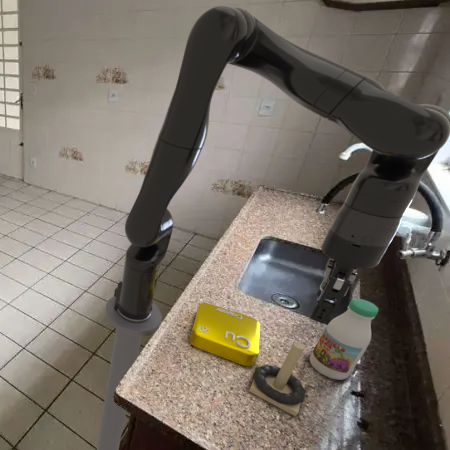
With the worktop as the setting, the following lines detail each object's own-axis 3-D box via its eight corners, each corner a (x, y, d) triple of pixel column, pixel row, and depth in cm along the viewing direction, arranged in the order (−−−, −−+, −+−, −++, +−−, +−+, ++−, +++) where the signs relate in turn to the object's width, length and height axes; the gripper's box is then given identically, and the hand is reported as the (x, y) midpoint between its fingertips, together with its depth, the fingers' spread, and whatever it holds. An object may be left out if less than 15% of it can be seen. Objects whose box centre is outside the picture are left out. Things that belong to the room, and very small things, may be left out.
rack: (248, 391, 80) (269, 346, 73) (258, 367, 86) (278, 323, 79) (295, 416, 75) (323, 370, 68) (302, 389, 80) (328, 344, 73)
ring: (248, 389, 79) (250, 382, 78) (257, 362, 85) (260, 356, 84) (299, 415, 73) (303, 409, 72) (305, 385, 80) (309, 379, 78)
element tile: (255, 331, 96) (261, 318, 94) (253, 370, 85) (259, 356, 83) (197, 311, 103) (200, 298, 101) (187, 344, 92) (191, 331, 90)
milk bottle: (320, 351, 90) (355, 289, 81) (355, 374, 84) (397, 311, 74) (301, 360, 88) (334, 298, 78) (335, 385, 81) (376, 321, 72)
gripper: (335, 211, 64) (302, 282, 72) (326, 241, 55) (289, 318, 63) (391, 225, 60) (349, 298, 67) (391, 259, 50) (342, 340, 58)
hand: (320, 308), depth 65 cm, fingers open, 8 cm apart
